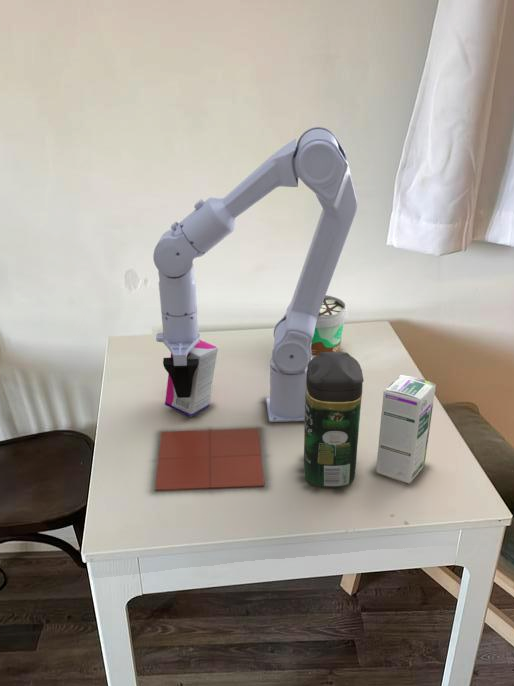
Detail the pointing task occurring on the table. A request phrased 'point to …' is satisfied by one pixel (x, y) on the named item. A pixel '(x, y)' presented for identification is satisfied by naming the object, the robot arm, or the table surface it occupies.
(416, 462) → the syrup box
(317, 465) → the coffee jar
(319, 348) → the food container
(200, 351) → the supplement box
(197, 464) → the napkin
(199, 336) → the robot arm
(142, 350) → the table surface
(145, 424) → the table surface
